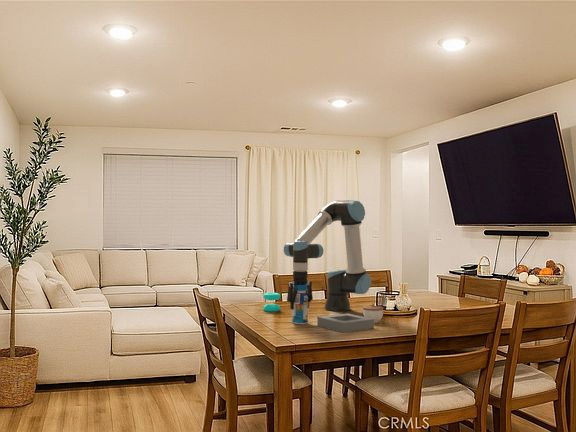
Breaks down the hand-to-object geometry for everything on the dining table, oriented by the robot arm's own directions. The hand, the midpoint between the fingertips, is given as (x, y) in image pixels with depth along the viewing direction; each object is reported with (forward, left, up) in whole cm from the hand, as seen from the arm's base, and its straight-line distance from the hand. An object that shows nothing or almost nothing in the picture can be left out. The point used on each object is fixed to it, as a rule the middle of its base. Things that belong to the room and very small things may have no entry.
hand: (299, 314), depth 312 cm
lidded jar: (-35, +17, -4) cm, 39 cm away
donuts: (-9, -41, -4) cm, 42 cm away
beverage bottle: (0, 0, -4) cm, 4 cm away
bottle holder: (-13, +21, -4) cm, 25 cm away
